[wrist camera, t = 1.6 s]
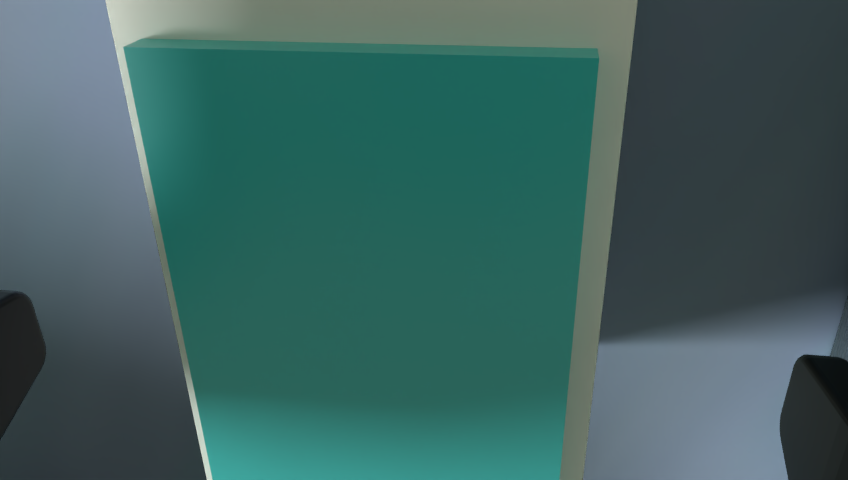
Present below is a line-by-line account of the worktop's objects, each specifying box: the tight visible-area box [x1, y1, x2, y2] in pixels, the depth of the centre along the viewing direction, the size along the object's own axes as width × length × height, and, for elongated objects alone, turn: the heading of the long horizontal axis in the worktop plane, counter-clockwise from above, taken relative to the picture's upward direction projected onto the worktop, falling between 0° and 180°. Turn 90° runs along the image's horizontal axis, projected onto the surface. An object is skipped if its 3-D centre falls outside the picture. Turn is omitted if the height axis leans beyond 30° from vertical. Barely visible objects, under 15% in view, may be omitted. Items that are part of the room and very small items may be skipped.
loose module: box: [105, 0, 638, 480], centre depth 11 cm, size 5×8×6 cm, turn 1°
